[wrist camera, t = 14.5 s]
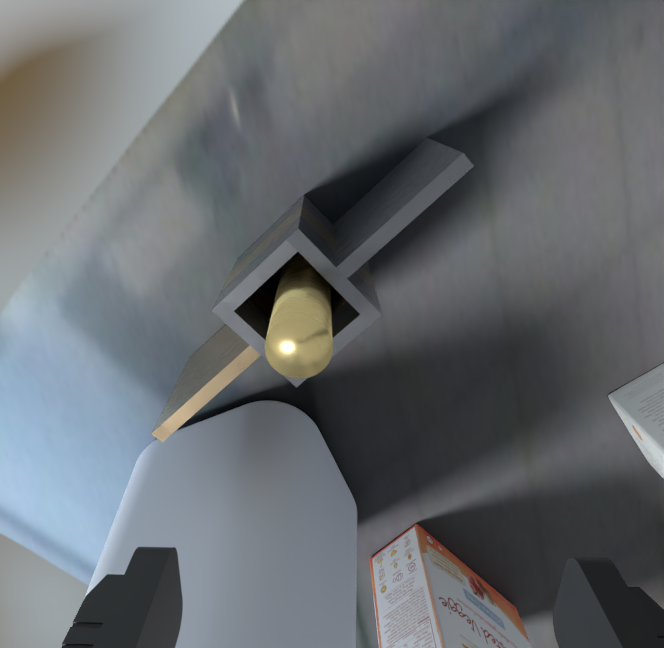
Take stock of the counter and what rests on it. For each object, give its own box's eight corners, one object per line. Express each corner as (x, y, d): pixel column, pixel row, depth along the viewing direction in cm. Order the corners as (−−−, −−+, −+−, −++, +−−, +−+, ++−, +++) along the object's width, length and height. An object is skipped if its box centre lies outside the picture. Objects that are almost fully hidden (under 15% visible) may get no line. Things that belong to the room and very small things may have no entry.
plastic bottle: (119, 445, 42) (-193, 988, 17) (297, 377, 40) (254, 876, 15) (210, 577, 48) (81, 1139, 22) (371, 523, 46) (434, 1072, 20)
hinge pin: (329, 238, 36) (334, 317, 23) (328, 281, 38) (331, 379, 25) (284, 236, 36) (264, 316, 23) (284, 279, 37) (265, 377, 25)
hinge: (398, 103, 33) (426, 106, 24) (461, 179, 35) (508, 208, 26) (160, 333, 39) (112, 403, 30) (225, 388, 41) (198, 470, 32)
